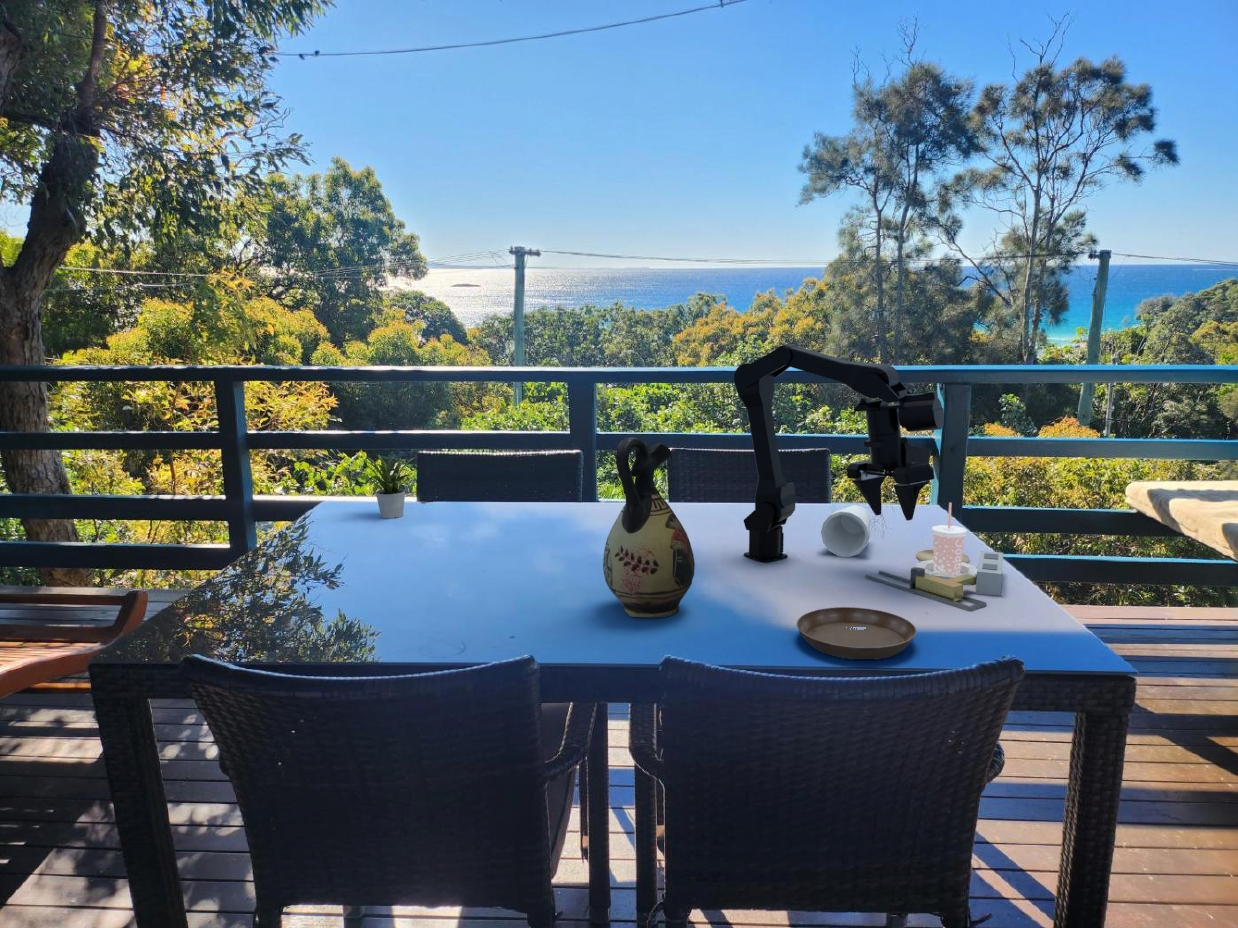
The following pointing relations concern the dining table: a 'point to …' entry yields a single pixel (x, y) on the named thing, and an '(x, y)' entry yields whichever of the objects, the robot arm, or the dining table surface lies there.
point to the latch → (940, 584)
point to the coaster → (929, 555)
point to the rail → (976, 602)
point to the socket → (976, 572)
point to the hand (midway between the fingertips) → (893, 517)
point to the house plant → (389, 489)
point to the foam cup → (846, 531)
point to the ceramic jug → (646, 539)
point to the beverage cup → (948, 547)
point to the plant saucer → (856, 632)
